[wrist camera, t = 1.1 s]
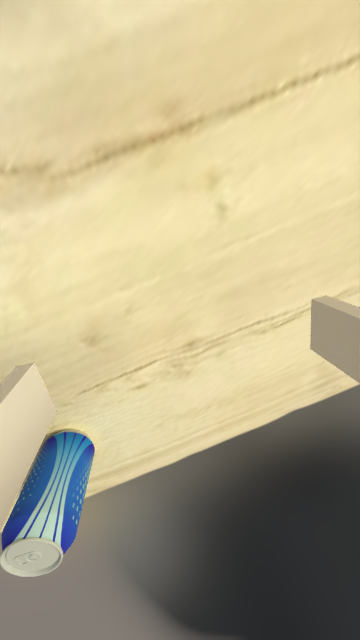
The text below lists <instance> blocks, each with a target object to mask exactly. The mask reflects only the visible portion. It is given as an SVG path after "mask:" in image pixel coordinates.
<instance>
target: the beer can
mask: <svg viewBox="0 0 360 640" xmlns="http://www.w3.org/2000/svg"><path fill="white" fill-rule="evenodd" d="M94 452H95V448H94V445H93V443H92V441H91V440H90V438H89V436H88V435H87V434H85V433H84V432H82V431H79V430H75V429H67V430H63V431H60V432H58V433H56V434H54V435H53V436H51V437H50V438H48V439H47V440H46V442H45V443H44V445H43V447H42V449H41V451H40V453H39V455H38V458H37V460H36V462H35V464H34V466H33V468H32V470H31V472H30V474H29V477H28V479H27V481H26V483H25V485H24V487H23V489H22V491H21V493H20V496H19V498H18V500H17V502H16V504H15V506H14V508H13V510H12V512H11V515H10V517H9V519H8V521H7V523H6V525H5V527H4V529H3V532H2V549H3V552H2V554H1V556H0V564H1V566H2V568H3V569H4V570H6V571H7V572H9V573H11V574H13V575H17V576H24V577H33V576H39V575H43V574H46V573H49V572H51V571H52V570H54V569H55V568H57V567H58V566H59V564H60V563H61V561H62V558H63V555H64V553H65V552H66V551H67V550H68V548H69V547H70V546H71V544H72V543H73V541H74V539H75V537H76V532H77V528H78V524H79V519H80V515H81V510H82V506H83V501H84V497H85V492H86V488H87V484H88V479H89V475H90V470H91V466H92V461H93V457H94Z"/></svg>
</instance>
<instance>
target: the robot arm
mask: <svg viewBox="0 0 360 640" xmlns="http://www.w3.org/2000/svg"><path fill="white" fill-rule="evenodd" d="M310 349H311V350H313V351H314V352H316V353H317V354H319V355H320V356H321V357H323V358H324V359H326V360H327V361H329V362H330V363H331V364H333V365H334V366H336V367H337V368H339V369H340V370H341V371H343V372H344V373H346V374H347V375H349V376H350V377H351V378H353V379H354V380H356V381H357V382H359V383H360V307H357V306H354V305H352V304H349V303H346V302H343V301H340V300H337V299H335V298H332V297H329V296H323V297H318V298H314V299H312V302H311V344H310ZM56 412H57V409H56V407H55V405H54V403H53V401H52V399H51V396H50V394H49V392H48V390H47V388H46V386H45V384H44V382H43V380H42V377H41V375H40V373H39V371H38V369H37V367H36V365H35V363H30V364H25V365H21V366H17V367H16V368H15V369H14V370H13V371H12V372H11V373H10V374H9V375H8V376H7V377H6V378H5V380H4V381H3V382H2V383H1V384H0V531H1V528H2V526H3V524H4V522H5V520H6V518H7V516H8V514H9V512H10V509H11V507H12V505H13V503H14V501H15V499H16V497H17V495H18V493H19V490H20V488H21V486H22V484H23V482H24V480H25V478H26V476H27V474H28V471H29V469H30V467H31V465H32V463H33V461H34V459H35V457H36V455H37V452H38V450H39V448H40V446H41V444H42V442H43V440H44V438H45V436H46V433H47V431H48V429H49V427H50V425H51V423H52V421H53V419H54V417H55V414H56Z"/></svg>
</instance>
